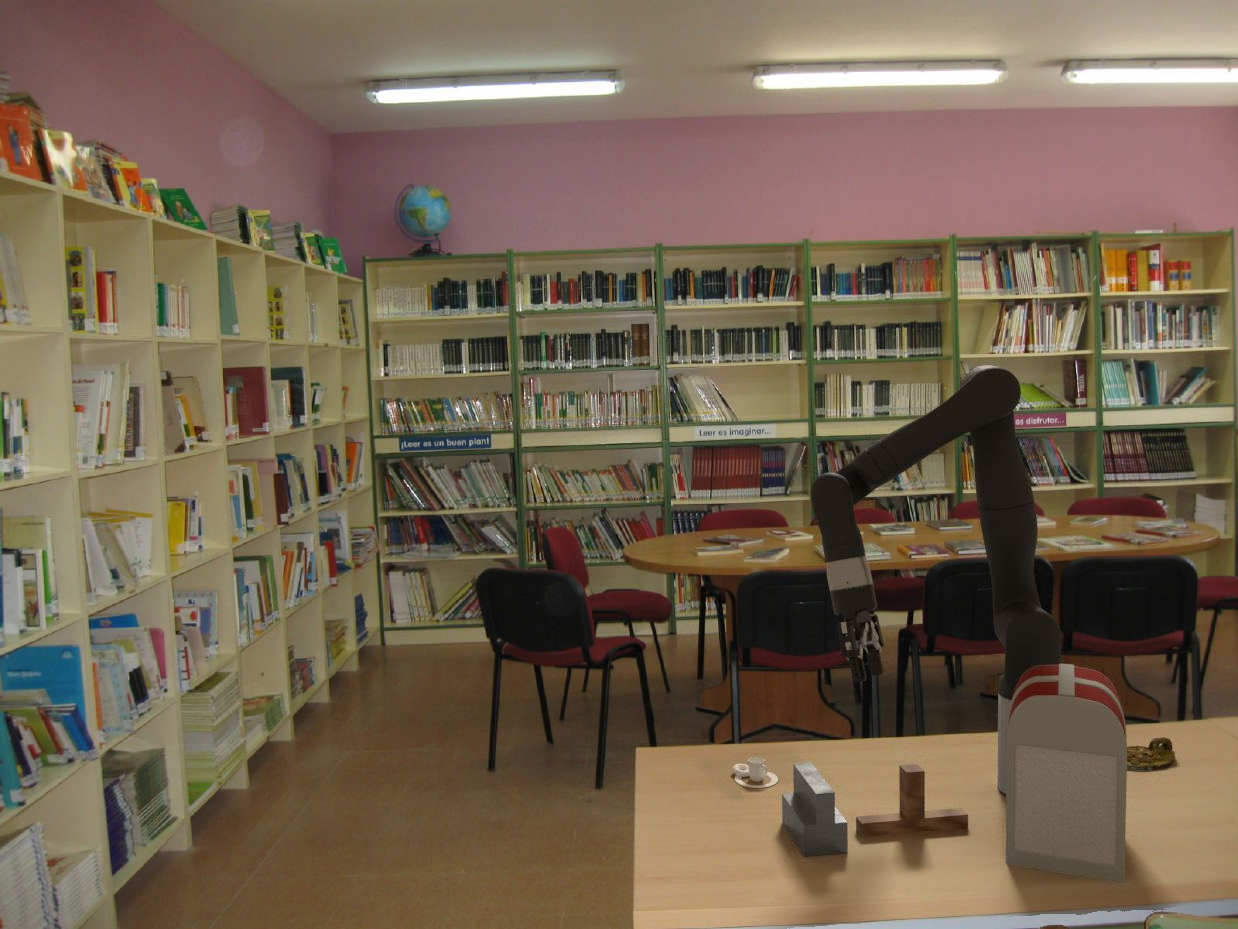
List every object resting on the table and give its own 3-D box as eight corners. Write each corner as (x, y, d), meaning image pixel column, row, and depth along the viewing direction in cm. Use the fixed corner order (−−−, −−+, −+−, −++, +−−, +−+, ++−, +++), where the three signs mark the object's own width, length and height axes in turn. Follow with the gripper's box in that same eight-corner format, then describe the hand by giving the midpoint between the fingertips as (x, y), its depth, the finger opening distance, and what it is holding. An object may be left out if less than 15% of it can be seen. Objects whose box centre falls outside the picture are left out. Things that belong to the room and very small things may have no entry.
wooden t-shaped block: (960, 821, 166) (960, 760, 165) (968, 830, 163) (969, 767, 162) (855, 830, 164) (855, 768, 163) (862, 839, 161) (861, 776, 160)
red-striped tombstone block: (1003, 863, 151) (1005, 690, 149) (1010, 815, 167) (1011, 657, 165) (1126, 884, 144) (1130, 702, 142) (1120, 831, 160) (1124, 667, 158)
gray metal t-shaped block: (782, 822, 167) (781, 764, 166) (823, 819, 168) (822, 761, 167) (804, 857, 155) (803, 794, 154) (847, 853, 156) (847, 791, 155)
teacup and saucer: (726, 774, 188) (726, 753, 188) (766, 769, 190) (766, 748, 190) (743, 793, 180) (743, 771, 179) (785, 787, 182) (784, 765, 181)
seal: (1118, 781, 182) (1190, 771, 185) (1120, 757, 181) (1192, 748, 184) (1085, 756, 191) (1154, 748, 194) (1087, 734, 190) (1156, 725, 193)
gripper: (856, 584, 168) (875, 682, 165) (884, 579, 179) (903, 670, 177) (815, 591, 172) (833, 686, 169) (845, 585, 183) (863, 674, 181)
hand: (869, 678), depth 173 cm, fingers open, 8 cm apart
